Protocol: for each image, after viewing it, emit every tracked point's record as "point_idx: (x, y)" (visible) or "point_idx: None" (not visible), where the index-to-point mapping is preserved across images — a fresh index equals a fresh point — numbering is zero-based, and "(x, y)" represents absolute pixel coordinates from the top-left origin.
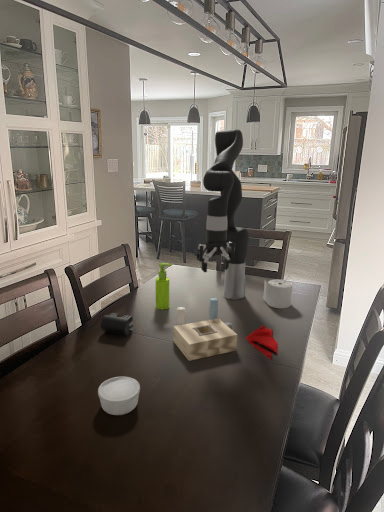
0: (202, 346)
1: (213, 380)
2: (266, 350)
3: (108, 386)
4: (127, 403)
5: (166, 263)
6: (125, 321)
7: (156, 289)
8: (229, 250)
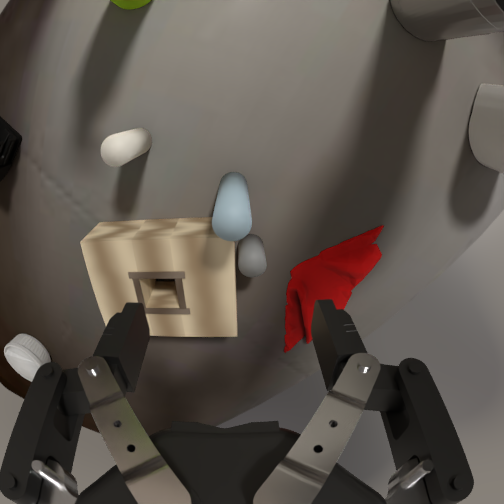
0: None
1: (153, 363)
2: (300, 326)
3: (12, 358)
4: None
5: None
6: None
7: None
8: (405, 438)
